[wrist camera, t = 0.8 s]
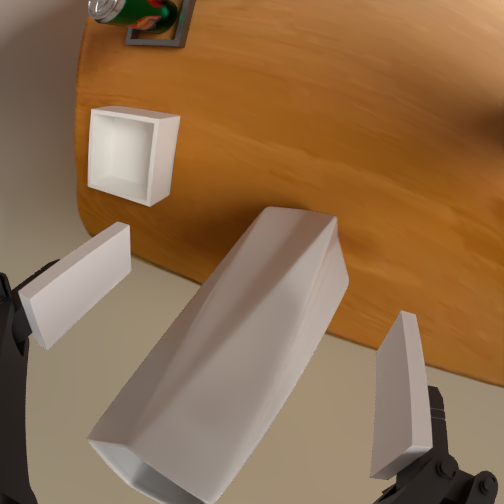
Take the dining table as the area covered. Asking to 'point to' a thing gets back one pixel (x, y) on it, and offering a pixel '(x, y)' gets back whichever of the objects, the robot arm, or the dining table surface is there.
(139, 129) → the bin
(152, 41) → the socket ring
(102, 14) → the soda can
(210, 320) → the vase
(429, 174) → the dining table surface
